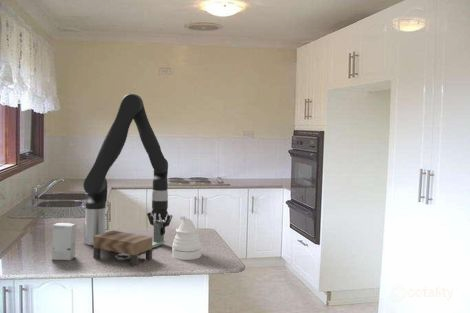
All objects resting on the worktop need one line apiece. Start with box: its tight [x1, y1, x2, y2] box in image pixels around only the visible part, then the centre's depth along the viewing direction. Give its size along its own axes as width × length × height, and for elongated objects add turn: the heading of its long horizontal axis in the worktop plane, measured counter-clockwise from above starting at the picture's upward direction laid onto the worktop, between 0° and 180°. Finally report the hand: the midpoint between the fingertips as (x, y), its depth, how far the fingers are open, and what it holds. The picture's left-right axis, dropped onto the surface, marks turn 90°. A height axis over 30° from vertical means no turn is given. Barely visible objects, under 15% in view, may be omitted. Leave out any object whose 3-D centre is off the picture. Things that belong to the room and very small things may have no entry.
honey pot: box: [171, 214, 202, 261], centre depth 207 cm, size 13×13×18 cm
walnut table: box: [93, 230, 153, 267], centre depth 200 cm, size 22×12×10 cm, turn 63°
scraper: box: [152, 221, 166, 249], centre depth 216 cm, size 20×4×10 cm, turn 153°
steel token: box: [115, 253, 130, 261], centre depth 201 cm, size 6×6×2 cm
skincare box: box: [51, 222, 77, 261], centre depth 198 cm, size 8×6×15 cm
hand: (159, 234), depth 224 cm, fingers closed on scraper, 3 cm apart
